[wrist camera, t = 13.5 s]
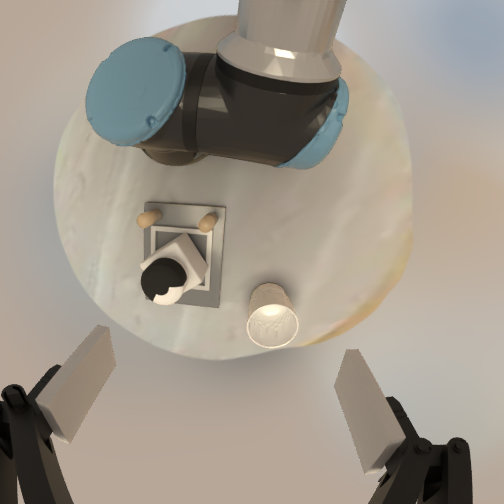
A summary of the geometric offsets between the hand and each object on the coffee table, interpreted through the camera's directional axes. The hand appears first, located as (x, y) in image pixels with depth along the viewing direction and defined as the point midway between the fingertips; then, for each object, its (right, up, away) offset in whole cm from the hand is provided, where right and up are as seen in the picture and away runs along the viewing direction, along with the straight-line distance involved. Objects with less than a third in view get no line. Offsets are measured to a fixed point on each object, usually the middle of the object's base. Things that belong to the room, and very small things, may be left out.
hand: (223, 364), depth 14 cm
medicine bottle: (-11, +5, +33) cm, 35 cm away
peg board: (-11, +5, +34) cm, 36 cm away
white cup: (+5, -3, +37) cm, 37 cm away
